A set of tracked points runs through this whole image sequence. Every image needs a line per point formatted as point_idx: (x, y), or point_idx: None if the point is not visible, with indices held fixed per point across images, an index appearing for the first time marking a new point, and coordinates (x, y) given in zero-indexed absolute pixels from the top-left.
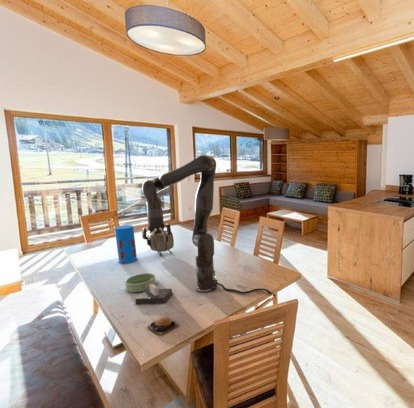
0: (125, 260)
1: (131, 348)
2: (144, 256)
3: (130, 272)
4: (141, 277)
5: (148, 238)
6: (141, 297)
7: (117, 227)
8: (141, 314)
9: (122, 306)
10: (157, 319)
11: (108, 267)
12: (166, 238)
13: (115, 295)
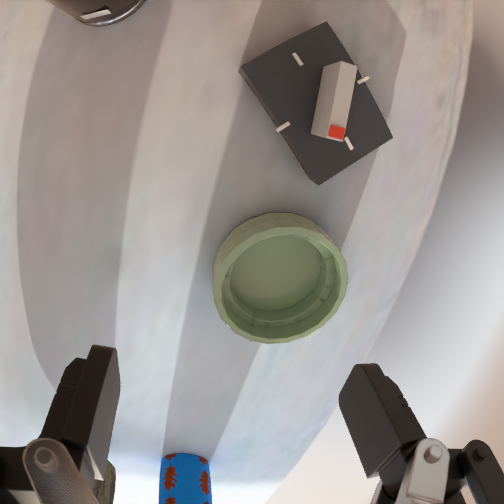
0: (199, 464)
1: None
2: (136, 458)
3: (223, 406)
4: (248, 323)
5: (443, 456)
6: (375, 122)
7: None
8: (407, 46)
9: (408, 168)
10: None
11: (244, 459)
12: (83, 399)
13: (366, 277)
